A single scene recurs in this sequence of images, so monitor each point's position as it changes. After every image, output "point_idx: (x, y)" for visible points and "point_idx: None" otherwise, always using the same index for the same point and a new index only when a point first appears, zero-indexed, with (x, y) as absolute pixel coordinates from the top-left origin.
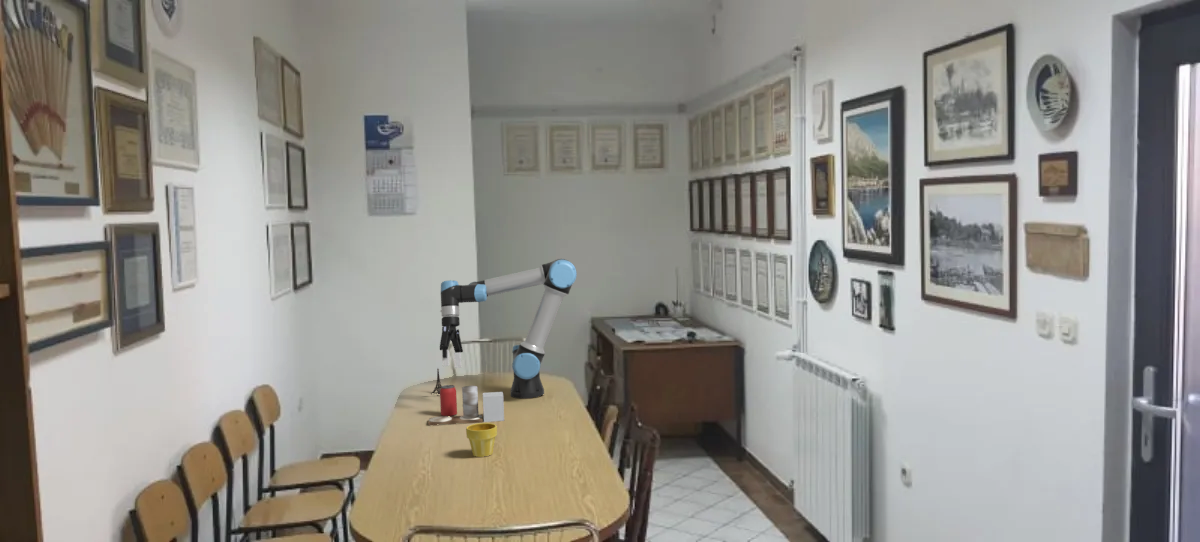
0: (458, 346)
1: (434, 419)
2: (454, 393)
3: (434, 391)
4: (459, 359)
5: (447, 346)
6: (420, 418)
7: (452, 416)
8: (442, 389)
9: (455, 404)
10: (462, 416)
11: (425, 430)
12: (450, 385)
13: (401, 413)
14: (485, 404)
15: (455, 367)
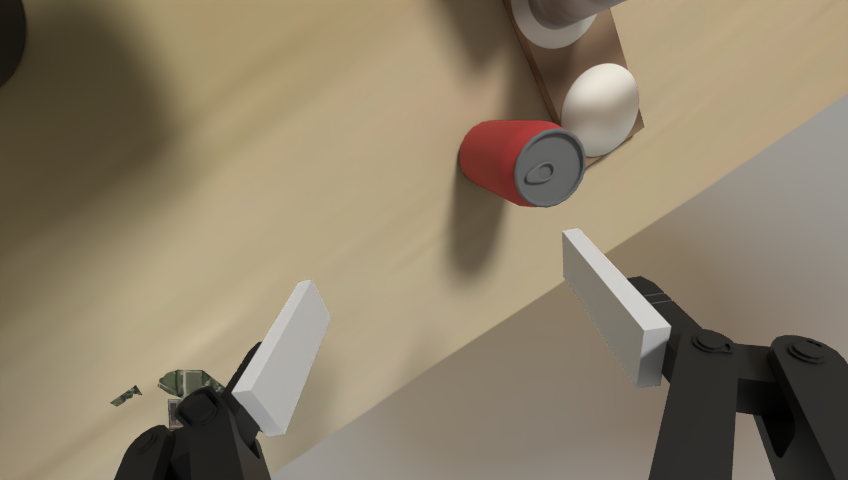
0: (242, 470)
1: (609, 130)
2: (539, 120)
3: None
4: (290, 331)
5: (724, 367)
6: (548, 221)
7: (551, 93)
8: (577, 177)
9: (508, 120)
10: (554, 40)
11: (690, 95)
12: (519, 176)
13: (500, 320)
14: None
15: (327, 313)
